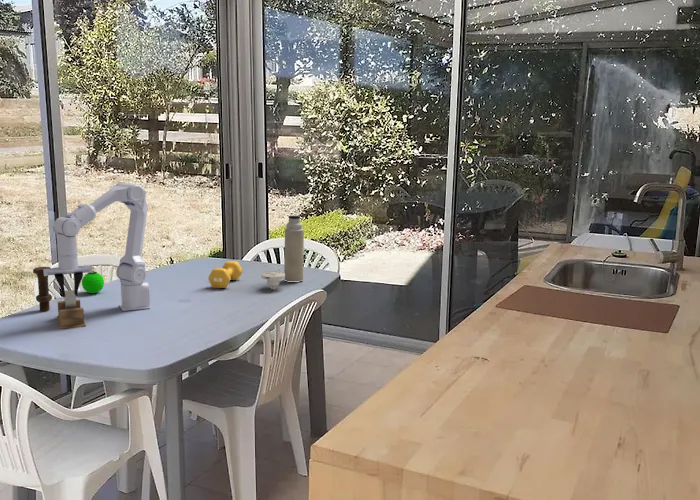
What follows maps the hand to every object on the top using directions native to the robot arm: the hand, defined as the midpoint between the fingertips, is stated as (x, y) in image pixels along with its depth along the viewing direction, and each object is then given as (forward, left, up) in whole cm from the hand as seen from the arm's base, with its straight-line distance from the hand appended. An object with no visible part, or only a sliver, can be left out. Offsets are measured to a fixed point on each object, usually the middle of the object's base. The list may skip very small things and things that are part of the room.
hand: (69, 295), depth 212 cm
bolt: (+7, -17, -9) cm, 21 cm away
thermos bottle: (-90, -27, -9) cm, 94 cm away
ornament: (-11, -35, -9) cm, 38 cm away
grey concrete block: (0, 0, -5) cm, 5 cm away
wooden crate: (0, 0, -9) cm, 9 cm away
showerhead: (-77, -17, -9) cm, 79 cm away
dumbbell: (-62, -32, -9) cm, 70 cm away
